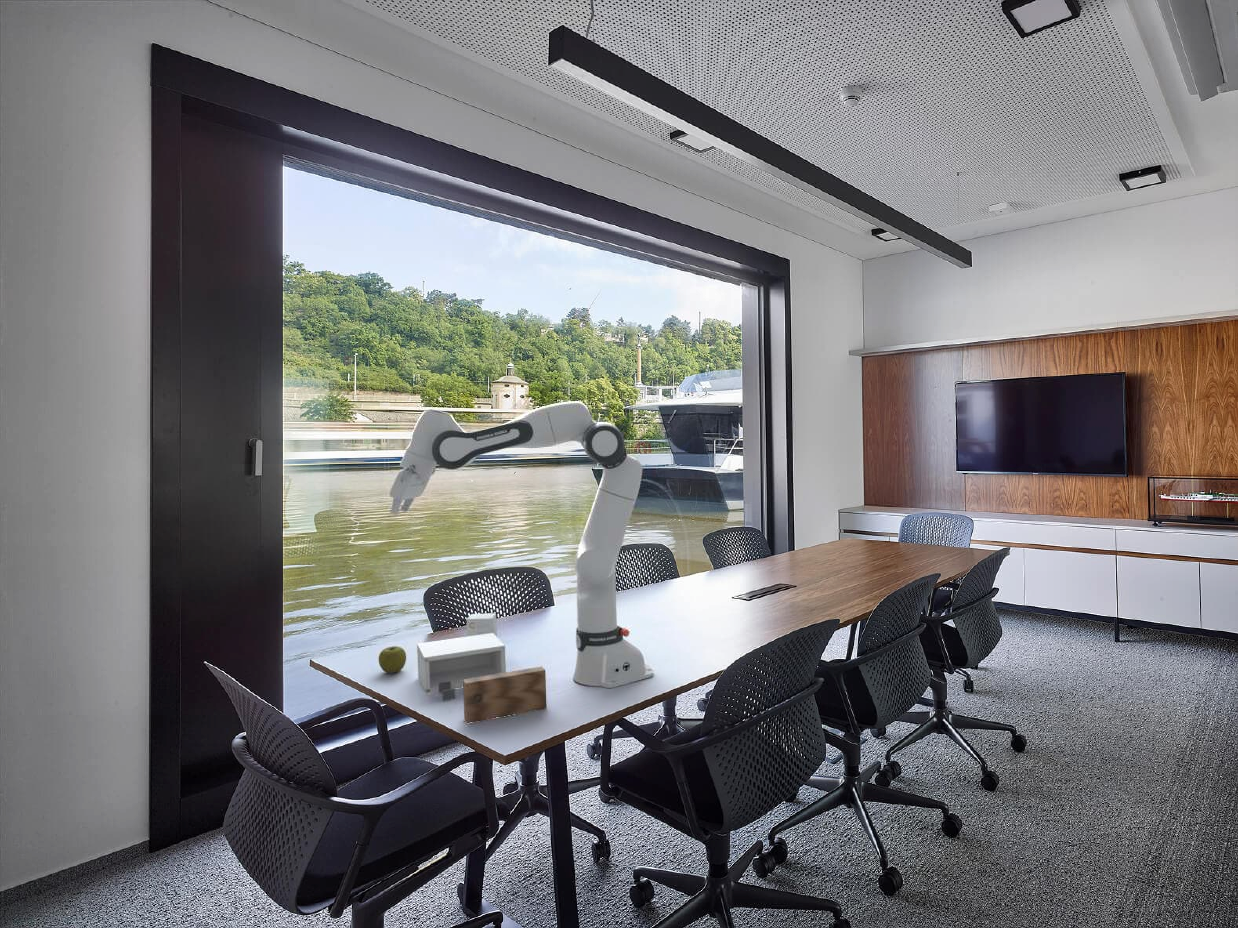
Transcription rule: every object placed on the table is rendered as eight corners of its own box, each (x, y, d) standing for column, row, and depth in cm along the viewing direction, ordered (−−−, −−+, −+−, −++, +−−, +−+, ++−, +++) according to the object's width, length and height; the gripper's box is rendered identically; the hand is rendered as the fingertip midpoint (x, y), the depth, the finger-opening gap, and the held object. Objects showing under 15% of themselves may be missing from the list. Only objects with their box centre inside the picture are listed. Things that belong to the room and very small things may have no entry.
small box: (498, 653, 223) (496, 612, 222) (494, 660, 216) (492, 618, 216) (472, 654, 223) (470, 613, 222) (467, 660, 216) (466, 618, 216)
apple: (373, 675, 205) (372, 651, 205) (391, 666, 213) (390, 643, 213) (394, 678, 203) (393, 653, 202) (412, 669, 210) (411, 645, 210)
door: (543, 705, 180) (541, 666, 179) (547, 710, 176) (546, 670, 176) (464, 720, 172) (462, 679, 171) (467, 725, 168) (466, 684, 168)
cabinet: (494, 666, 211) (492, 632, 210) (512, 688, 192) (511, 652, 191) (418, 678, 202) (417, 643, 202) (429, 702, 183) (428, 664, 183)
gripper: (418, 470, 182) (398, 520, 182) (437, 468, 202) (419, 513, 202) (395, 461, 181) (375, 511, 181) (416, 460, 202) (398, 505, 202)
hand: (398, 512), depth 192 cm, fingers open, 8 cm apart
